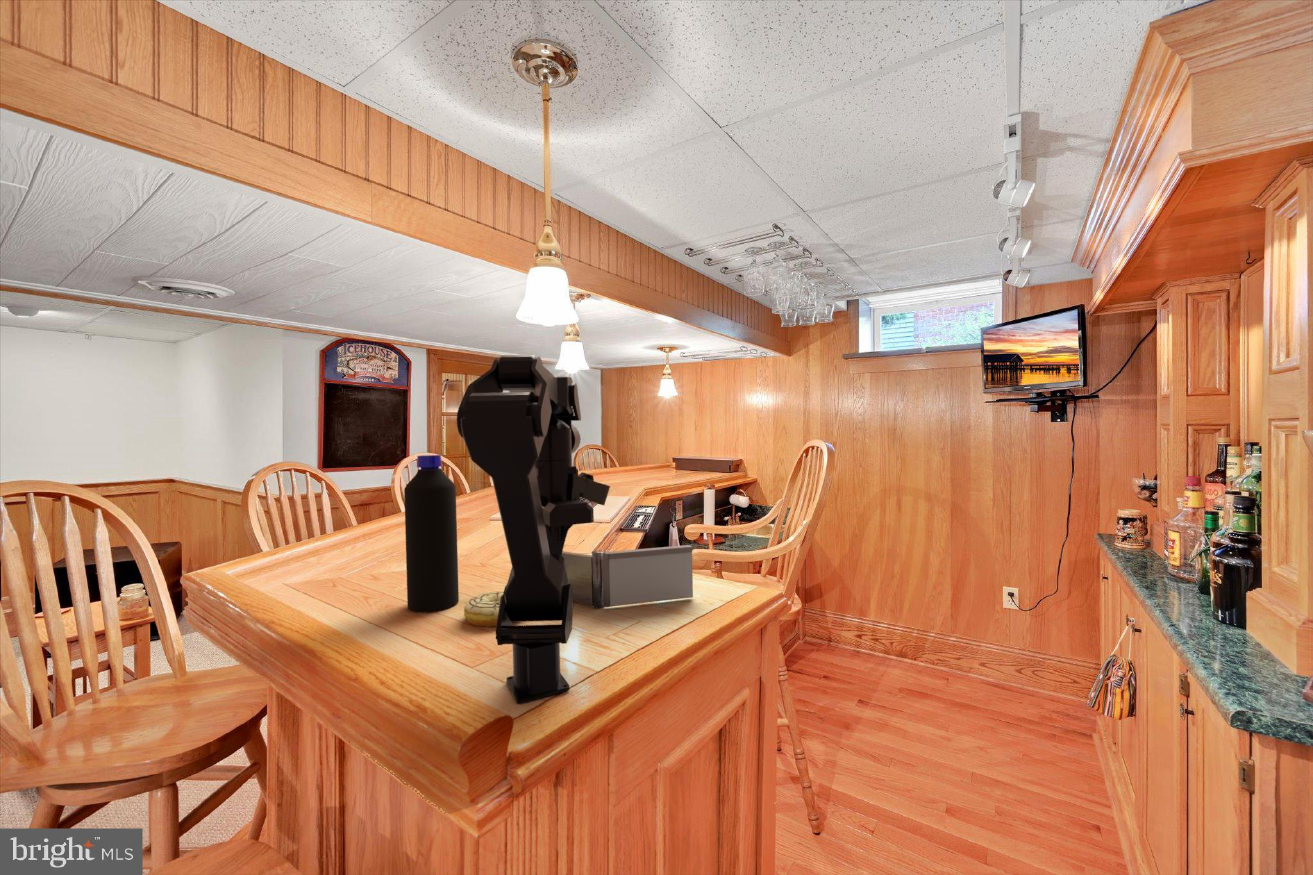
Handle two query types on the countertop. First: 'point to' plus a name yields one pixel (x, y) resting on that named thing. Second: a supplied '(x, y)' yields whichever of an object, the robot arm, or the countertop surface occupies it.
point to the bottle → (431, 538)
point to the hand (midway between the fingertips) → (555, 563)
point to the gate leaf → (647, 575)
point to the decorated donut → (483, 609)
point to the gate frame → (585, 577)
